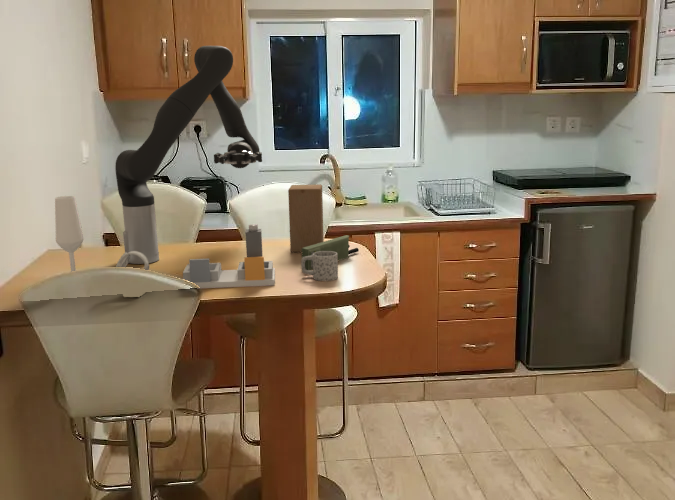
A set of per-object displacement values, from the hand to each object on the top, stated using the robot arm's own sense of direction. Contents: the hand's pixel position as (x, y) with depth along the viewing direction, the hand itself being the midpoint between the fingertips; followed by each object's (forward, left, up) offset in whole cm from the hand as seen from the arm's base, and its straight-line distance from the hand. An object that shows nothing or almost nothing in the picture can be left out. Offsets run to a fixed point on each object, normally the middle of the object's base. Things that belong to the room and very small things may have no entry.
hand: (236, 159), depth 196 cm
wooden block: (+20, +12, -30) cm, 38 cm away
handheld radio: (+27, -6, -31) cm, 41 cm away
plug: (+5, -23, -29) cm, 37 cm away
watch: (-25, -32, -30) cm, 51 cm away
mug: (+22, -23, -30) cm, 44 cm away
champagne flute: (-42, -24, -30) cm, 57 cm away
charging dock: (-2, -23, -30) cm, 38 cm away
